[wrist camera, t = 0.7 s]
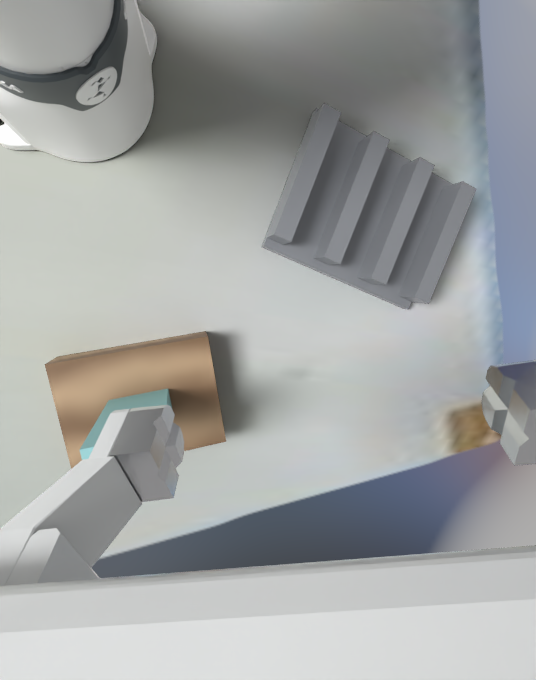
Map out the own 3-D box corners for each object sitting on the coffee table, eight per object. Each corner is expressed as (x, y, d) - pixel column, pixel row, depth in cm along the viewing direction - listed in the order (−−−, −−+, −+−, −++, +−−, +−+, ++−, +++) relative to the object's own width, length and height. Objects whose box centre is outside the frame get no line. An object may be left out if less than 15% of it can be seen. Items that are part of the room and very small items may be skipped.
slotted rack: (261, 246, 45) (270, 243, 40) (312, 112, 44) (328, 93, 39) (403, 308, 50) (425, 311, 45) (452, 189, 49) (479, 180, 44)
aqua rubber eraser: (108, 400, 40) (79, 449, 28) (168, 388, 41) (163, 431, 29) (113, 422, 40) (87, 480, 29) (172, 410, 41) (169, 462, 30)
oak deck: (57, 356, 42) (44, 364, 38) (205, 331, 45) (208, 336, 41) (82, 458, 44) (73, 476, 40) (222, 428, 47) (226, 441, 43)
